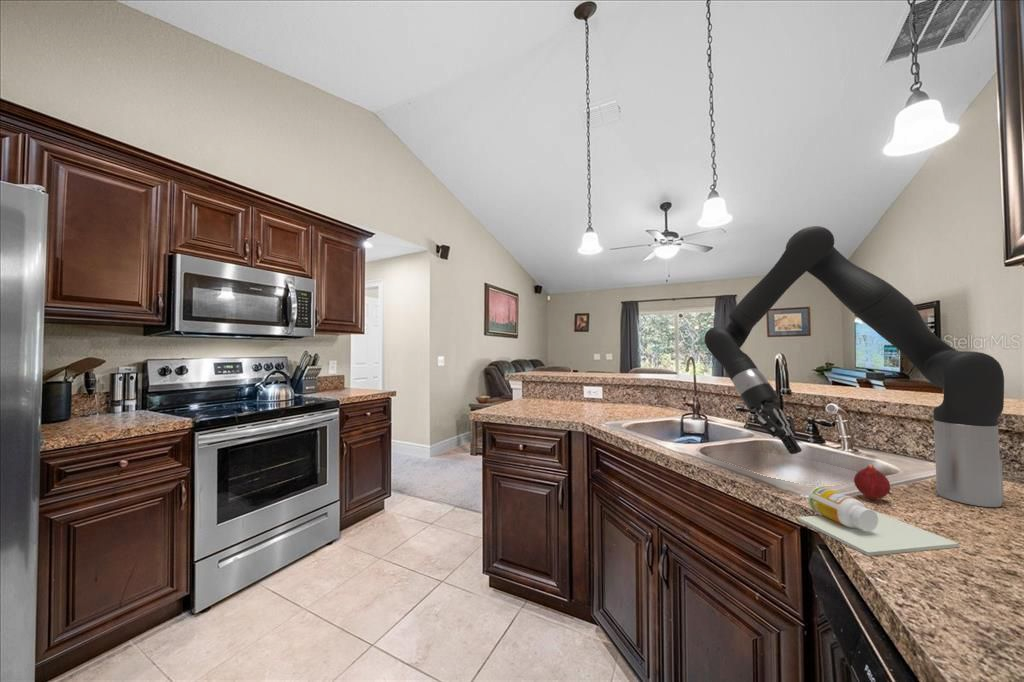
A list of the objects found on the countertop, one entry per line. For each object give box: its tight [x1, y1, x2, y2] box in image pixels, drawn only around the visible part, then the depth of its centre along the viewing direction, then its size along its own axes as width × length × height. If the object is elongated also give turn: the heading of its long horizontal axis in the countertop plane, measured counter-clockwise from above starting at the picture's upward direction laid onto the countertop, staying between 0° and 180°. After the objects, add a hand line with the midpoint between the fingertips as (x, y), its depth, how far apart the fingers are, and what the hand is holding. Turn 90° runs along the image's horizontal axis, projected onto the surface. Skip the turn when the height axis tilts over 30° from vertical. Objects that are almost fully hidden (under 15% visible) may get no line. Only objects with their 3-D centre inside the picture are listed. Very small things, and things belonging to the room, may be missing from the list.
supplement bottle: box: [807, 486, 878, 531], centre depth 71 cm, size 5×5×10 cm
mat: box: [797, 510, 960, 557], centre depth 69 cm, size 18×13×1 cm
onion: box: [853, 463, 891, 501], centre depth 83 cm, size 6×6×8 cm
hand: (796, 452), depth 87 cm, fingers closed
